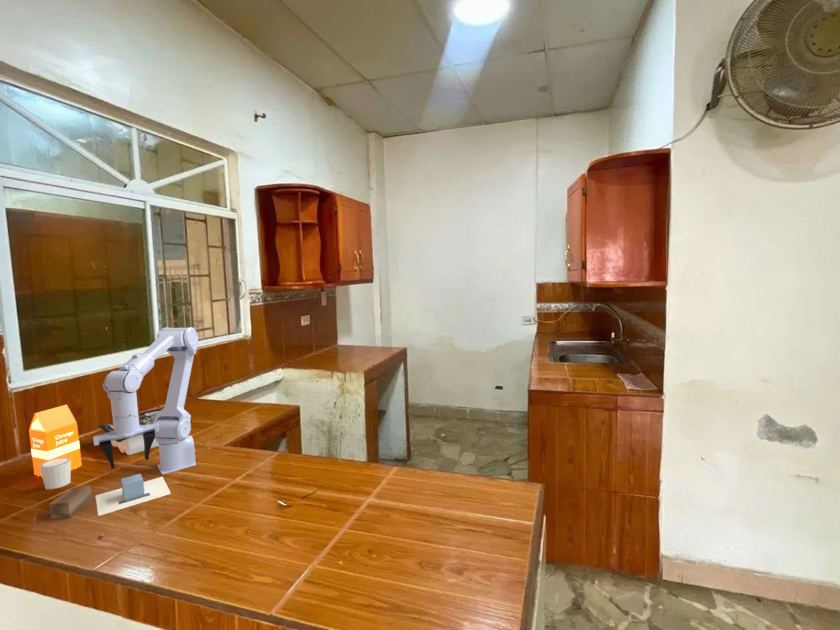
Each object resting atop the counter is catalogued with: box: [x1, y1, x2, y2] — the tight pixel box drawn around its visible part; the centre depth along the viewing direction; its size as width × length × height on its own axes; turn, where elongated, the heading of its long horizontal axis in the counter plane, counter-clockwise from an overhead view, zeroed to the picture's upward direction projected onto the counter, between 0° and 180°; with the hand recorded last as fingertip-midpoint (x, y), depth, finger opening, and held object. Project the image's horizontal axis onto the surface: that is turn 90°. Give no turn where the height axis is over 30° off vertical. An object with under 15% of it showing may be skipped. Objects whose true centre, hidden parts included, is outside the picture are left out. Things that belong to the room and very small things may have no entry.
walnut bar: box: [48, 486, 93, 520], centre depth 109 cm, size 4×8×4 cm, turn 4°
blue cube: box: [120, 473, 144, 501], centre depth 116 cm, size 4×4×4 cm
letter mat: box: [95, 476, 172, 517], centre depth 116 cm, size 16×13×1 cm
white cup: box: [40, 457, 72, 491], centre depth 123 cm, size 7×7×7 cm
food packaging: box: [97, 408, 193, 456], centre depth 154 cm, size 25×8×23 cm
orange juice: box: [28, 404, 83, 478], centre depth 131 cm, size 8×9×20 cm
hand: (130, 462), depth 115 cm, fingers open, 7 cm apart
